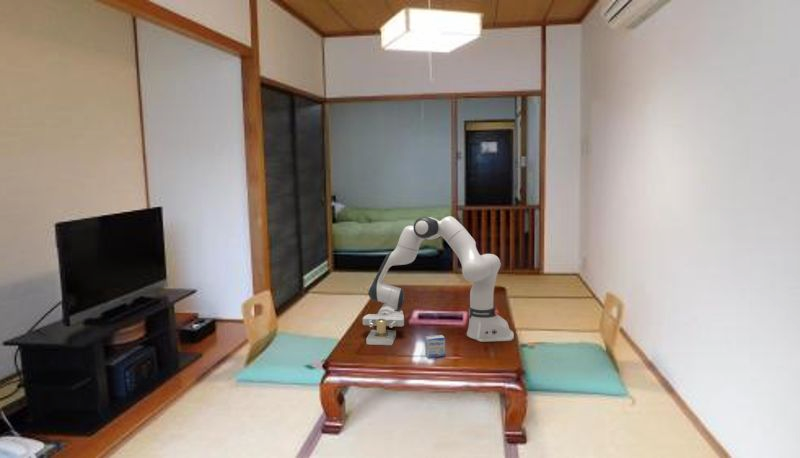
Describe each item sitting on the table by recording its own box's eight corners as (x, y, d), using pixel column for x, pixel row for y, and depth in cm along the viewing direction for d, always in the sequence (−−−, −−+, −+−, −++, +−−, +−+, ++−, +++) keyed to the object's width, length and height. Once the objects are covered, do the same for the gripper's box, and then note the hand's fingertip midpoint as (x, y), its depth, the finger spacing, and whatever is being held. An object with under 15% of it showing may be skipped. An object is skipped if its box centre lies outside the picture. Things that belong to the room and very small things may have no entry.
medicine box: (428, 358, 239) (427, 339, 237) (425, 354, 243) (424, 336, 242) (445, 356, 241) (445, 337, 239) (441, 352, 245) (441, 334, 244)
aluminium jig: (395, 336, 267) (395, 330, 266) (391, 345, 255) (391, 339, 254) (371, 335, 268) (371, 329, 268) (366, 344, 257) (366, 338, 256)
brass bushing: (386, 338, 263) (386, 318, 262) (385, 342, 259) (384, 321, 258) (377, 338, 264) (377, 318, 263) (376, 341, 260) (375, 321, 258)
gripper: (365, 309, 274) (359, 318, 261) (405, 311, 271) (401, 319, 258) (365, 322, 275) (359, 331, 262) (406, 323, 272) (401, 332, 259)
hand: (380, 325), depth 260 cm, fingers open, 8 cm apart
